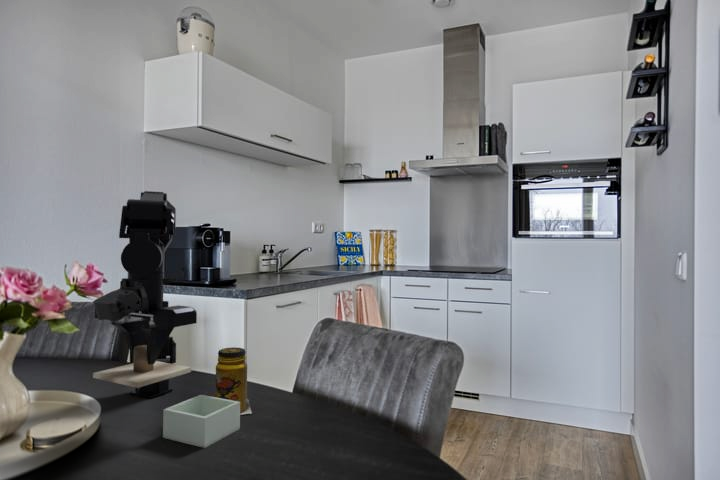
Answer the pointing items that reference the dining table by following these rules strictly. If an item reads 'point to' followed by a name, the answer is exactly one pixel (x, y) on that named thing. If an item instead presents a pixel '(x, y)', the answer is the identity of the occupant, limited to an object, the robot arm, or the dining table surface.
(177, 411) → the mint green open box
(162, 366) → the lid
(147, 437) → the dining table surface
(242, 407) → the condiment
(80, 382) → the dining table surface
